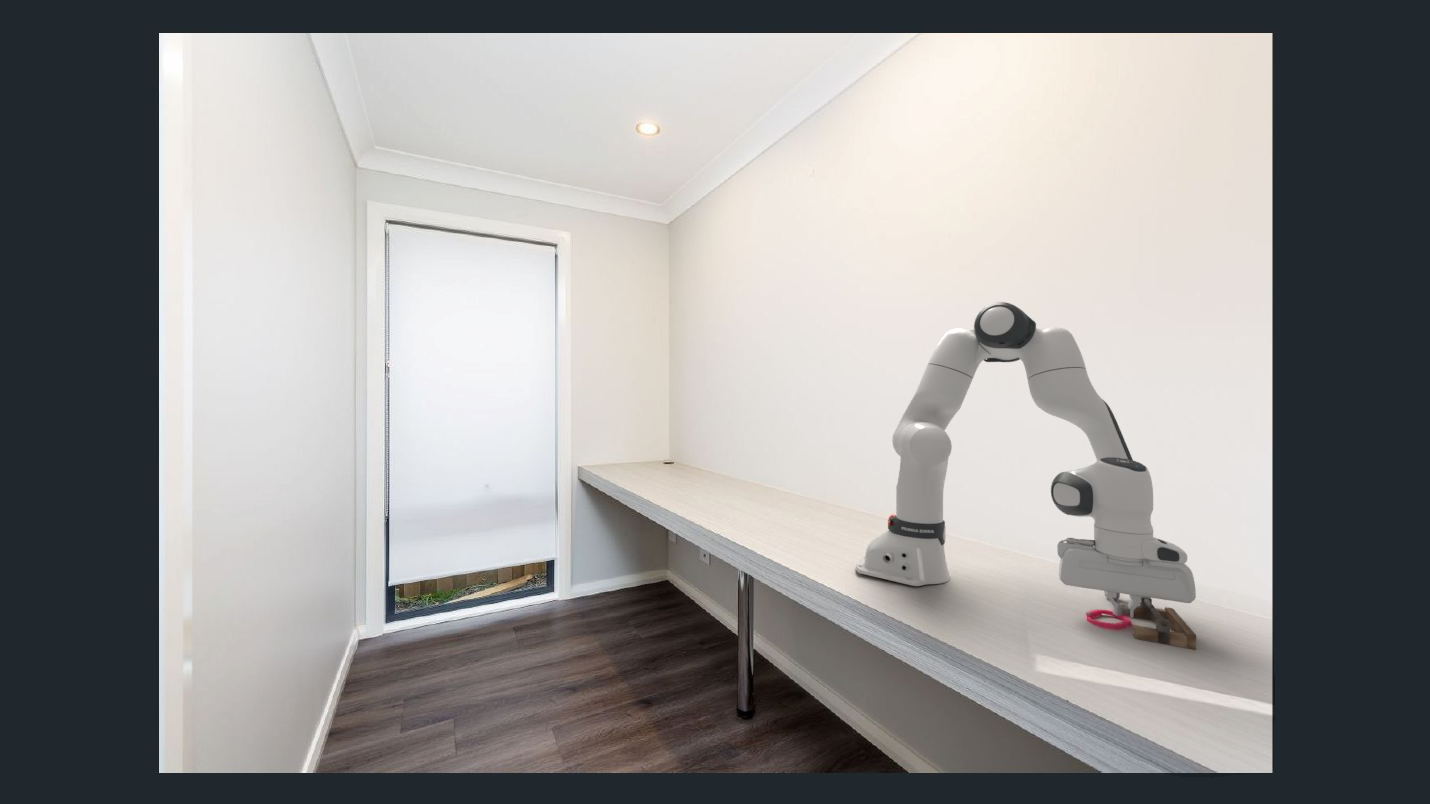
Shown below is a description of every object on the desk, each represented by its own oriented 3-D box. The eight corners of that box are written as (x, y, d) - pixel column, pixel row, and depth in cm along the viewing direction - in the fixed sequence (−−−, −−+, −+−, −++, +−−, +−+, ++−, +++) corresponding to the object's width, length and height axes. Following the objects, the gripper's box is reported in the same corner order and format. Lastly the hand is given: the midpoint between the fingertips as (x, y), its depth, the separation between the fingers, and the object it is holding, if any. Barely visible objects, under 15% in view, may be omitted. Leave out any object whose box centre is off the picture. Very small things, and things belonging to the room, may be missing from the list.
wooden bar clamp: (1134, 638, 90) (1135, 616, 90) (1119, 612, 101) (1119, 592, 101) (1196, 649, 86) (1196, 626, 86) (1172, 621, 97) (1172, 600, 97)
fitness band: (1104, 614, 101) (1104, 606, 101) (1137, 626, 96) (1138, 618, 96) (1079, 621, 98) (1079, 613, 98) (1113, 633, 93) (1113, 625, 93)
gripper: (1059, 540, 98) (1059, 610, 98) (1199, 555, 88) (1199, 634, 88) (1055, 532, 104) (1055, 599, 104) (1187, 547, 94) (1187, 620, 94)
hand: (1122, 615), depth 96 cm, fingers closed
